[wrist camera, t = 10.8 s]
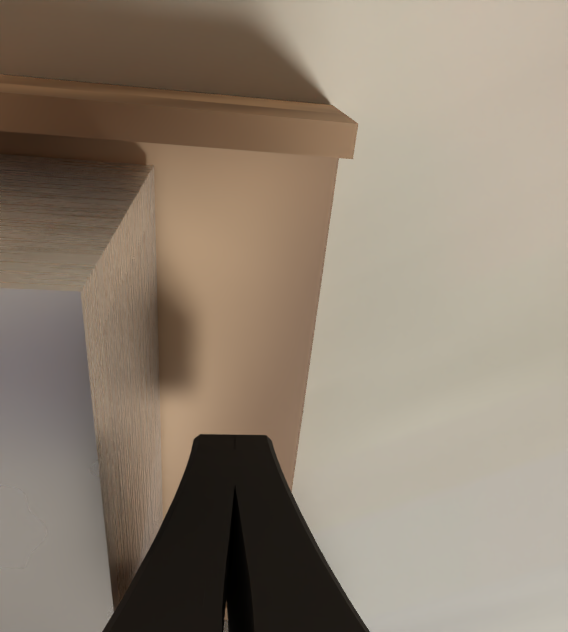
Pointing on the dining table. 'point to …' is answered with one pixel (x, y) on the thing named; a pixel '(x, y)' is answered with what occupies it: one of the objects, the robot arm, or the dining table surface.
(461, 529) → the dining table surface
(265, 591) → the robot arm
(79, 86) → the housing base
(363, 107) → the dining table surface
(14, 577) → the housing cover
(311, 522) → the dining table surface
